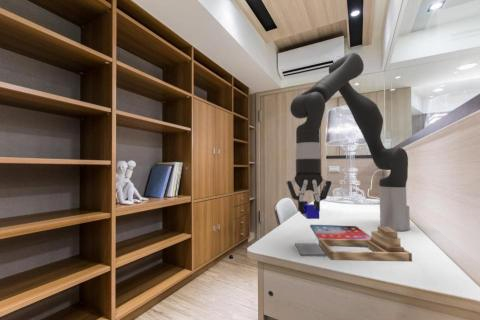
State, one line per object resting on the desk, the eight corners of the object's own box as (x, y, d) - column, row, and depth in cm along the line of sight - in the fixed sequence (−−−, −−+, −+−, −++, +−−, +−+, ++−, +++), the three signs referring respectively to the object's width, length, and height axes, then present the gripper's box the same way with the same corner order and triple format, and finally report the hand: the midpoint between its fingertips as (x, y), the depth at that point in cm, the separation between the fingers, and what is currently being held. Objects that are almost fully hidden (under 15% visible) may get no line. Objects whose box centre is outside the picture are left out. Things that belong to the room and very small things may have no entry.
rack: (386, 245, 72) (386, 239, 72) (411, 261, 60) (411, 253, 60) (318, 244, 73) (318, 238, 73) (331, 259, 61) (331, 252, 61)
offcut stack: (385, 245, 70) (384, 225, 71) (404, 256, 62) (403, 233, 62) (370, 245, 71) (369, 225, 71) (387, 256, 62) (386, 233, 62)
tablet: (322, 246, 72) (322, 244, 72) (309, 226, 97) (309, 224, 97) (386, 250, 70) (385, 247, 70) (356, 227, 94) (356, 226, 94)
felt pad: (316, 245, 73) (316, 243, 73) (325, 256, 64) (325, 254, 64) (295, 244, 73) (295, 243, 73) (301, 255, 64) (301, 253, 64)
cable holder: (319, 218, 64) (319, 205, 64) (307, 218, 64) (306, 205, 65) (311, 213, 72) (310, 200, 72) (300, 213, 72) (300, 200, 73)
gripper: (327, 158, 73) (327, 211, 72) (283, 158, 73) (284, 210, 73) (335, 157, 65) (336, 216, 65) (287, 157, 66) (287, 215, 65)
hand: (308, 213), depth 69 cm, fingers closed on cable holder, 3 cm apart
